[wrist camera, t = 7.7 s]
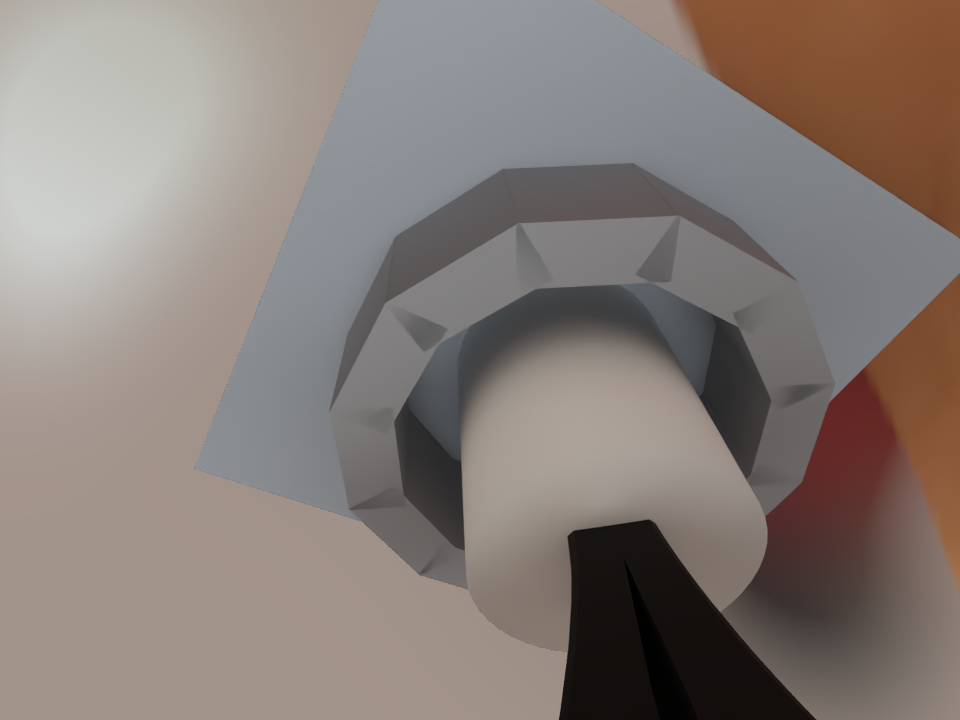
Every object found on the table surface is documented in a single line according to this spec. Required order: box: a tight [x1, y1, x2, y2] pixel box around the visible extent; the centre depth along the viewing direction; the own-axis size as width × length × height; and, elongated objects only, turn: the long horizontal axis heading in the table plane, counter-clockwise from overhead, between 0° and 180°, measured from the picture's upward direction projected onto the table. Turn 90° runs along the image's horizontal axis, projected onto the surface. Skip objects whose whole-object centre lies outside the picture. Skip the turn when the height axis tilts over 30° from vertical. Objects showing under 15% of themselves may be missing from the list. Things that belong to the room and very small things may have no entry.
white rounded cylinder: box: [458, 285, 767, 652], centre depth 13 cm, size 5×5×6 cm
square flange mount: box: [194, 0, 960, 589], centre depth 15 cm, size 14×14×4 cm
